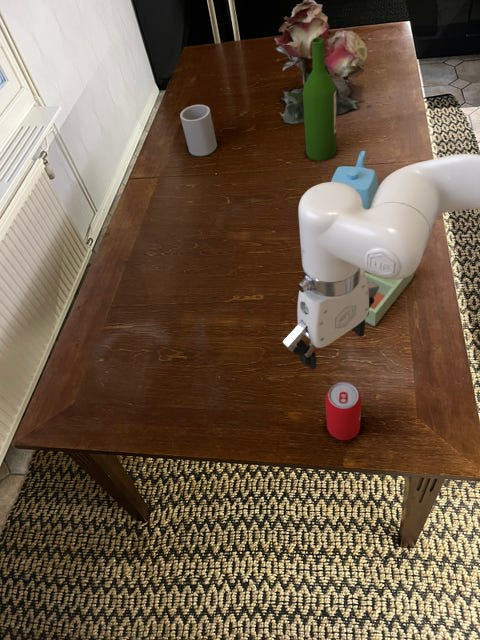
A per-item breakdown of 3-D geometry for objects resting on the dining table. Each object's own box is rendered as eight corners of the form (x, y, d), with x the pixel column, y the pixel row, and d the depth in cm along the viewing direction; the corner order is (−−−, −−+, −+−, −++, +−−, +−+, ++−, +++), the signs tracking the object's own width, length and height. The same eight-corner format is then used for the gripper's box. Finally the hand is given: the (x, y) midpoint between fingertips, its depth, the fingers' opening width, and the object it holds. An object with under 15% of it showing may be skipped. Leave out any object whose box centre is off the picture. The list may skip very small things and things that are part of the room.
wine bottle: (339, 157, 155) (339, 43, 130) (309, 163, 155) (304, 51, 130) (332, 141, 161) (330, 29, 136) (303, 147, 161) (296, 36, 136)
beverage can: (360, 414, 102) (362, 381, 93) (359, 443, 99) (361, 412, 89) (327, 411, 104) (326, 378, 94) (325, 440, 100) (324, 409, 91)
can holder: (413, 276, 122) (416, 262, 119) (374, 326, 115) (375, 313, 111) (378, 262, 127) (379, 248, 123) (338, 309, 119) (338, 295, 116)
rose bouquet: (373, 107, 169) (378, 5, 146) (285, 128, 169) (276, 30, 146) (348, 71, 185) (349, -25, 162) (267, 90, 185) (257, -3, 162)
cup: (186, 143, 171) (178, 109, 162) (213, 136, 172) (206, 101, 162) (191, 158, 165) (182, 124, 156) (219, 151, 166) (212, 116, 157)
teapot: (384, 186, 144) (387, 149, 135) (368, 230, 134) (370, 193, 125) (339, 181, 148) (339, 145, 139) (321, 223, 138) (320, 187, 129)
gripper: (297, 321, 65) (304, 393, 78) (400, 254, 70) (390, 332, 83) (262, 288, 69) (274, 361, 83) (360, 226, 74) (357, 305, 87)
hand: (332, 346), depth 83 cm, fingers open, 9 cm apart
